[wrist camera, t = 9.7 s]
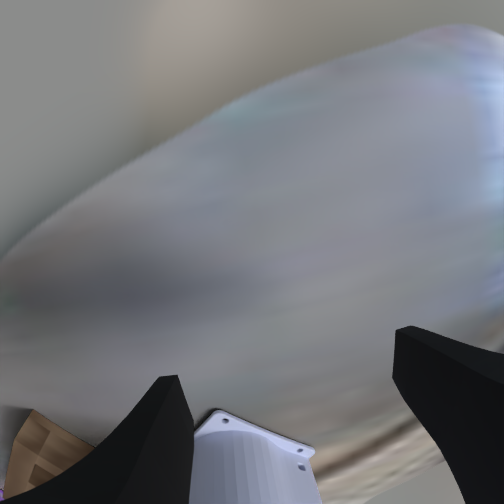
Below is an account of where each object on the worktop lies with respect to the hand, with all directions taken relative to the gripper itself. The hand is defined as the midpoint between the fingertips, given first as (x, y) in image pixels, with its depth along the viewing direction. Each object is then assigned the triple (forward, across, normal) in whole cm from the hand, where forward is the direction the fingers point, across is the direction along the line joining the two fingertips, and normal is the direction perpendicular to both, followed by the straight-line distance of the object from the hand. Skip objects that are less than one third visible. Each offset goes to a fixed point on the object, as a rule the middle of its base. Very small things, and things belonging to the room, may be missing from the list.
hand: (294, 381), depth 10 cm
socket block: (+9, +23, +17) cm, 30 cm away
